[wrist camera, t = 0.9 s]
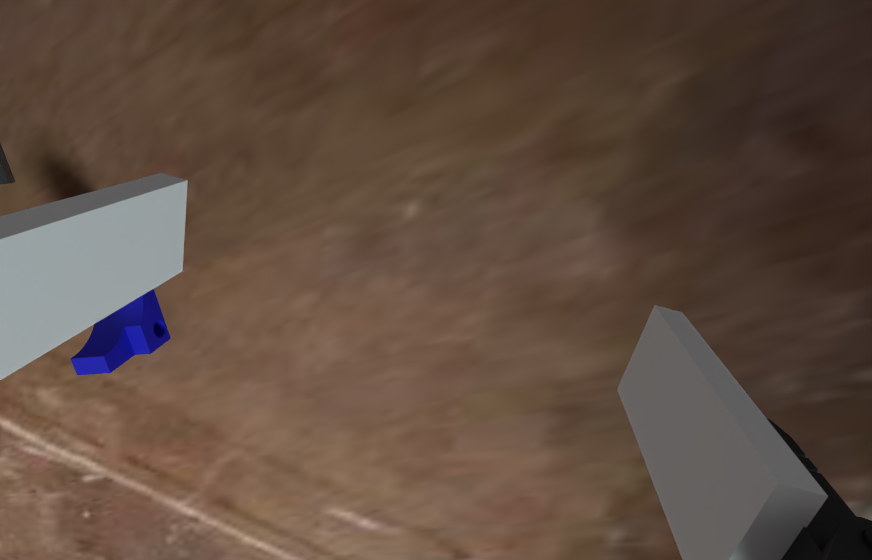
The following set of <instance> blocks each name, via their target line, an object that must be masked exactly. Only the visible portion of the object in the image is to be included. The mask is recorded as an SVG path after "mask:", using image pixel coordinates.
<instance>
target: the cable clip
mask: <svg viewBox="0 0 872 560" xmlns="http://www.w3.org/2000/svg"><path fill="white" fill-rule="evenodd" d="M169 339H170V335H169V332H168V329H167V327H166V324H165V321H164V318H163V315H162V312H161V309H160V306H159V303H158V300H157V298H156V295H155V292H154V289H152V290H150V291H149V292H147V293H145V294H144V295H142V296H140V297H139V298H137V299H135V300H134V301H132V302H130V303H129V304H127V305H125V306H124V307H122V308H120V309H119V310H117V311H115V312H114V313H112V314H110V315H109V316H107V317H105V318H103V319H102V320H100V321H98V322H97V323H95V324H94V327H93V330H92V333H91V335H90V338H89V339H88V341H87V343H86V344H85V346H84V347H83V348H82V349H81V350H80V352H78V353H77V354H76V355H75V356H74V357H72V358H71V361H72V363H73V366H74V368H75V371H76V373H77V375H87V374H101V373H111V372H112V371H113V370H115V369H116V368H118V367H119V366H120V365H122V364H123V363H124V362H126V361H127V360H128V359H130V358H131V357H133V356H134V355H138V354H151V353H152V352H153V351H155V350H156V349H157V348H159V347H160V346H161V345H163V344H164V343H165V342H166V341H168V340H169Z"/></svg>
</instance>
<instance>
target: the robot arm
mask: <svg viewBox="0 0 872 560" xmlns="http://www.w3.org/2000/svg"><path fill="white" fill-rule="evenodd" d="M187 181H188V180H185V179H181V178H177V177H174V176H170V175H166V174H162V173H159V174H156V175H152V176H148V177H144V178H141V179H137V180H133V181H130V182H126V183H122V184H118V185H115V186H111V187H107V188H104V189H100V190H96V191H92V192H89V193H85V194H81V195H78V196H74V197H70V198H66V199H63V200H59V201H55V202H52V203H48V204H44V205H40V206H37V207H33V208H29V209H26V210H22V211H18V212H14V213H11V214H7V215H3V216H0V380H1V379H3V378H5V377H6V376H8V375H10V374H11V373H13V372H15V371H16V370H18V369H20V368H22V367H23V366H25V365H27V364H28V363H30V362H32V361H33V360H35V359H37V358H38V357H40V356H42V355H43V354H45V353H47V352H48V351H50V350H52V349H53V348H55V347H57V346H58V345H60V344H62V343H63V342H65V341H67V340H68V339H70V338H72V337H73V336H75V335H77V334H78V333H80V332H82V331H83V330H85V329H87V328H88V327H90V326H92V325H93V324H95V323H97V322H98V321H100V320H102V319H103V318H105V317H107V316H109V315H110V314H112V313H114V312H115V311H117V310H119V309H120V308H122V307H124V306H125V305H127V304H129V303H130V302H132V301H134V300H135V299H137V298H139V297H140V296H142V295H144V294H145V293H147V292H149V291H150V290H152V289H154V288H155V287H157V286H159V285H160V284H162V283H164V282H165V281H167V280H169V279H170V278H172V277H174V276H175V275H177V274H179V273H180V272H182V270H183V252H184V234H185V216H186V199H187ZM617 390H618V393H619V395H620V398H621V400H622V403H623V406H624V408H625V411H626V413H627V416H628V419H629V421H630V424H631V426H632V429H633V432H634V434H635V437H636V439H637V442H638V445H639V447H640V450H641V453H642V455H643V458H644V460H645V463H646V466H647V468H648V471H649V473H650V476H651V479H652V481H653V484H654V486H655V489H656V492H657V494H658V497H659V499H660V502H661V505H662V507H663V510H664V512H665V515H666V518H667V520H668V523H669V526H670V528H671V531H672V533H673V536H674V539H675V541H676V544H677V546H678V549H679V552H680V554H681V557H682V559H683V560H872V521H871V520H868V519H865V518H862V517H856V516H855V515H854V513H853V512H852V511H851V510H850V508H849V507H848V506H847V505H846V504H845V502H844V501H843V500H842V499H841V497H840V496H839V495H838V494H837V493H836V491H835V490H834V489H833V488H832V486H831V485H830V484H829V483H828V482H827V480H826V479H825V478H824V477H823V476H822V474H820V473H817V471H818V469H817V468H816V467H815V466H814V465H813V463H812V462H811V461H810V460H809V458H805V454H804V452H803V451H802V450H801V449H800V447H799V446H798V445H797V444H796V443H795V441H794V440H793V439H792V438H791V437H790V436H789V435H788V434H787V433H785V432H784V431H783V430H782V429H781V428H779V427H778V426H777V425H776V424H774V423H773V422H772V421H771V420H769V419H767V418H766V417H765V416H764V415H763V413H762V412H761V411H760V410H759V408H758V407H757V406H756V405H755V403H754V402H753V401H752V400H751V398H750V397H749V396H748V395H747V393H746V392H745V391H744V390H743V388H742V387H741V386H740V385H739V383H738V382H737V381H736V379H735V378H734V377H733V376H732V374H731V373H730V372H729V371H728V369H727V368H726V367H725V366H724V364H723V363H722V362H721V361H720V359H719V358H718V357H717V356H716V354H715V353H714V352H713V350H712V349H711V348H710V347H709V345H708V344H707V343H706V342H705V340H704V339H703V338H702V337H701V335H700V334H699V333H698V332H697V330H696V329H695V328H694V327H693V325H692V324H691V323H690V321H689V320H688V319H687V318H686V316H685V315H684V314H683V313H682V312H679V311H675V310H671V309H668V308H664V307H660V306H656V305H654V307H653V310H652V312H651V314H650V316H649V319H648V321H647V323H646V325H645V328H644V330H643V332H642V334H641V337H640V339H639V341H638V343H637V346H636V348H635V350H634V352H633V355H632V357H631V359H630V361H629V364H628V366H627V368H626V370H625V373H624V375H623V377H622V379H621V382H620V384H619V386H618V388H617Z"/></svg>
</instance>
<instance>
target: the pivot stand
mask: <svg viewBox="0 0 872 560" xmlns="http://www.w3.org/2000/svg"><path fill="white" fill-rule="evenodd" d="M13 182H15V181H14V179H13V176H12V173H11V171H10V168H9V166H8V163H7V160H6V158H5V155H4V153H3V150H2V148H1V145H0V184H8V183H13Z"/></svg>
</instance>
